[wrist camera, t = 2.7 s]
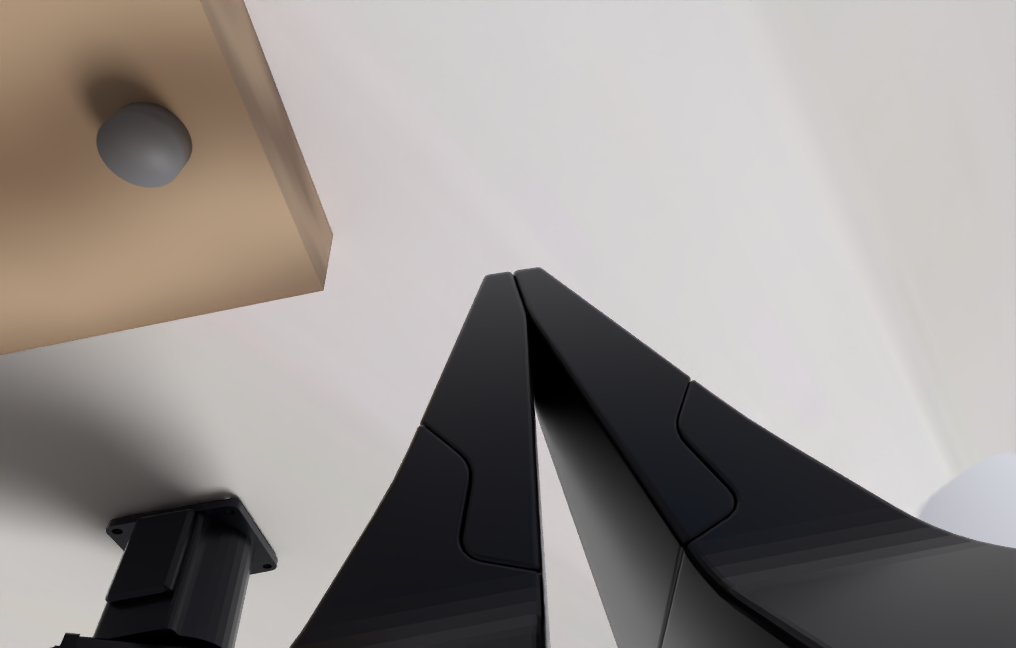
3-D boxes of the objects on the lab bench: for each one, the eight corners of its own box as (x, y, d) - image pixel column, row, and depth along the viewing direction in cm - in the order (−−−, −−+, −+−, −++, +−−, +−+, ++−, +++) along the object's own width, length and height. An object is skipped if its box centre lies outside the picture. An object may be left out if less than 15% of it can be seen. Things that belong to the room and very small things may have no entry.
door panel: (334, 229, 21) (320, 309, 17) (-18, 298, 21) (-113, 396, 17) (189, -153, 14) (111, -162, 10) (-347, -61, 14) (-636, -34, 10)
